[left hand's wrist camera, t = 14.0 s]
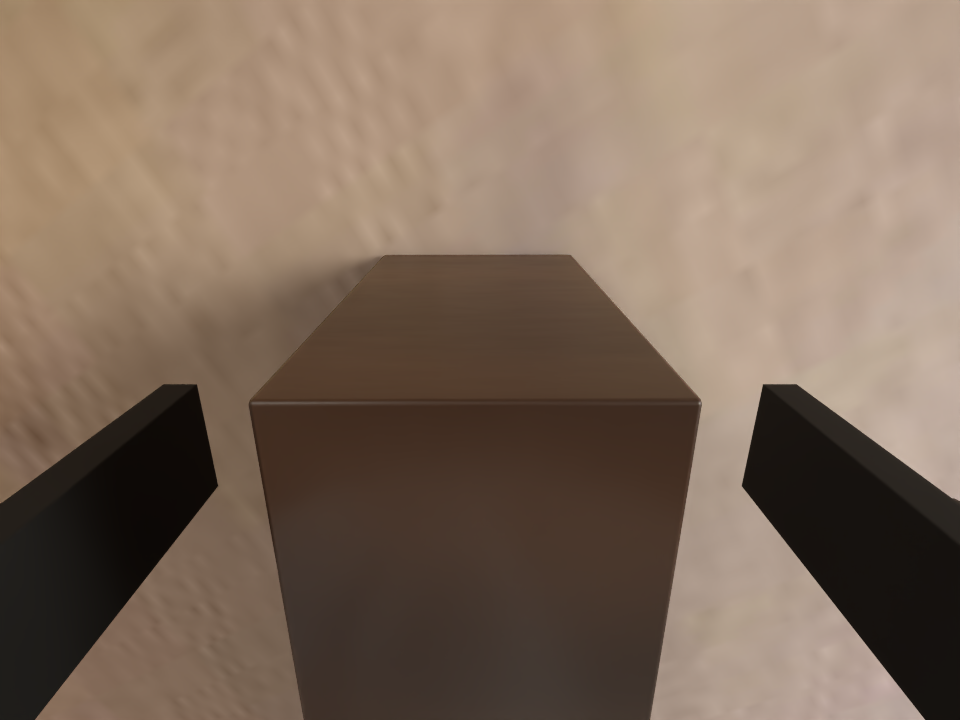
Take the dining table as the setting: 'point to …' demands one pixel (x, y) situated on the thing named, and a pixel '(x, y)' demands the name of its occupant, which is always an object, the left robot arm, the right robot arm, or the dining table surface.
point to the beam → (476, 495)
